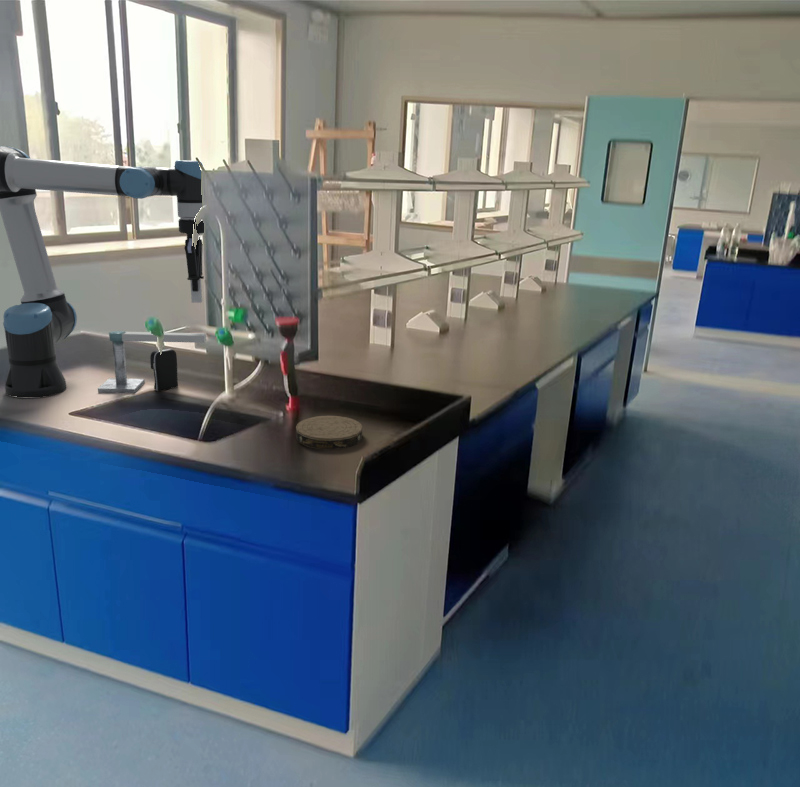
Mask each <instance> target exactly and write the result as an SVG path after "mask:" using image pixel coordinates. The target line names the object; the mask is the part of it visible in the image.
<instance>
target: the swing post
mask: <svg viewBox="0 0 800 787" xmlns="http://www.w3.org/2000/svg"><path fill="white" fill-rule="evenodd" d="M111 342H112V352H113V363H114V365H113V366H114V376H115V378H113V377H112V378H108V379H107V380H106V381H104V382H103V383H102V384H101V385H100V386H99V387H97V393H100V394H104V393H105V394H136V393H137V392H138V391H139V390H140V389H141V387H142V386H143V385H144V384H145V382H146V381H145V378H127V377H128V376H127V375H128V374H127V365H126V364H127V363H126V351H125V349H126V348H125V341H119V342H114V341H111Z"/></svg>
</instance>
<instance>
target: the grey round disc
mask: <svg viewBox="0 0 800 787" xmlns="http://www.w3.org/2000/svg"><path fill="white" fill-rule="evenodd" d="M362 437H363V425H362V424H361V422H359V421H358V420H356V419H353V418H350V417H347V416H342V415H341V416H339V415H319V416H318V415H317V416H312V417H307V418H304V419H301V421H299V422H298V423H297V424H296V426H295V438H296V441H297V442H298V443H299V444H301V445H303V446H306V447H308V448H312V449H318V450H341V449H345V448H346V449H347V448H350V447H352V446H355V445H358V444H359V443H360V442H361V441H362Z"/></svg>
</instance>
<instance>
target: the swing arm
mask: <svg viewBox="0 0 800 787" xmlns="http://www.w3.org/2000/svg"><path fill="white" fill-rule="evenodd" d="M150 332H151V331H123V330H114V331H110V332H109V333H108V337H109V341H110V342H112V341H114V342H119V341H124V342H142V343H143V342H147V343H148V342H151V343H153V342H154V343H157V337H156V336H154V335H153V334H151V333H150ZM163 332H164V331H163ZM206 341H207V333H206V332H204V333H203V332H200V333H199V332H164V339H163V342H162V343H194V344H196V343H197V344H203V343H206Z"/></svg>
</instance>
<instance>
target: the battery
mask: <svg viewBox="0 0 800 787" xmlns="http://www.w3.org/2000/svg"><path fill="white" fill-rule="evenodd" d="M162 349H163V350H162V354H161V355H160V352H159V350H160V349H156V350H153V351H152V352H151V353H150V356H149V357H150V360H149V362H150V369H151V370H153V376H154V385H153V386H154V387H153V389H154V390H155V391H156V392H163V391H167V390H170V389H174V388H177V387H179V381H178V380H179V379H178V357H177V356H178V355H177V352H176V351H175V350H174V349H172V348H162Z"/></svg>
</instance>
